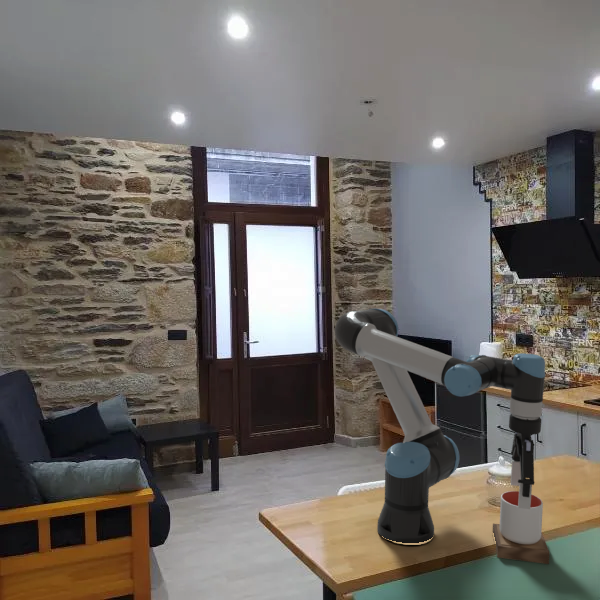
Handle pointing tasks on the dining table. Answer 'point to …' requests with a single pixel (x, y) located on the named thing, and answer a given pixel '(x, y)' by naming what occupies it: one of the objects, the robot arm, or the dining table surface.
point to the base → (520, 548)
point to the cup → (520, 519)
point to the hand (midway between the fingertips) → (519, 496)
